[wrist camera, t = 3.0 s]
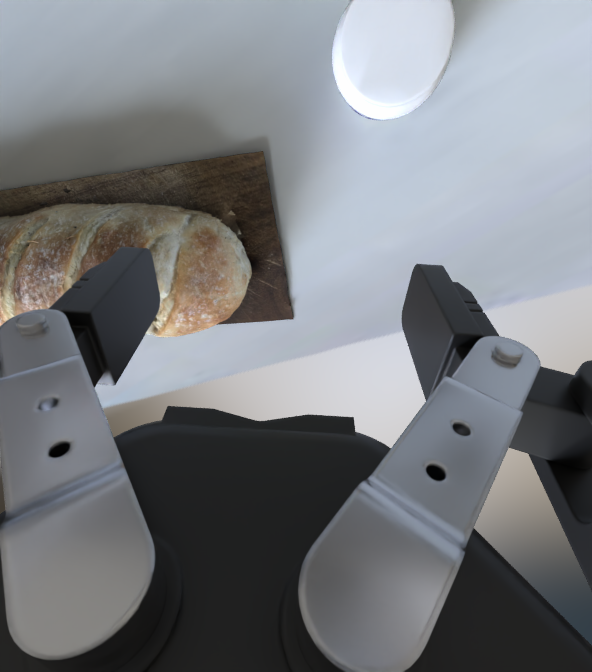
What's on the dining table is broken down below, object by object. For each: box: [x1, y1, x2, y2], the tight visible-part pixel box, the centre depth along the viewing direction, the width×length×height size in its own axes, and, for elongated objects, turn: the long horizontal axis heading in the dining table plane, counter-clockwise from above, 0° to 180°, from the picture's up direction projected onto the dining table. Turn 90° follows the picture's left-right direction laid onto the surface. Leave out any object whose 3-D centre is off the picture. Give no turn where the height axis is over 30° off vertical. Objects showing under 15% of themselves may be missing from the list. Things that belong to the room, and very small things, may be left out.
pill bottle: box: [332, 0, 455, 120], centre depth 20 cm, size 6×6×10 cm
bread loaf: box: [0, 151, 293, 337], centre depth 31 cm, size 35×18×9 cm, turn 105°
